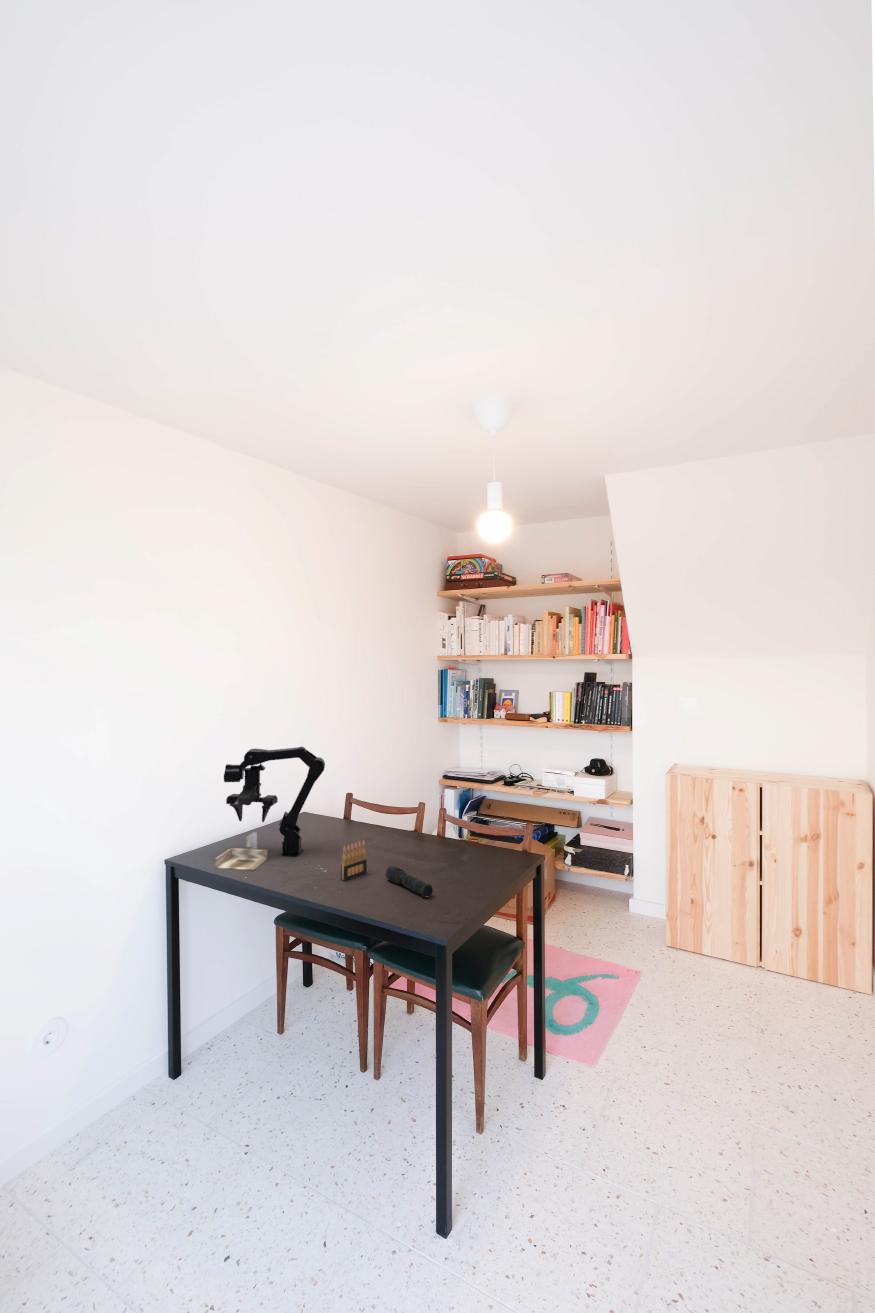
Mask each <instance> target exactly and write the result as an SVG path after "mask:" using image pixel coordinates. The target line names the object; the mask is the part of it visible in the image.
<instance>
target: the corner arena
mask: <svg viewBox="0 0 875 1313" xmlns="http://www.w3.org/2000/svg"><path fill="white" fill-rule="evenodd" d="M267 860H268V849H257V850H256V849H247V848H242V849H241V848H239V847H237V848H234V847H230V848H227V850H225V851H223V852H222V853H221V854H219V855H217V856H216V857H215V858H214V869H218V870H219V869H221V870H238V871H255V870H257V869H258V868H259V867H260V866H262V864H264V863H265V862H266V861H267Z"/></svg>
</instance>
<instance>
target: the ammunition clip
mask: <svg viewBox="0 0 875 1313" xmlns="http://www.w3.org/2000/svg"><path fill="white" fill-rule="evenodd" d="M366 854H367V851H366V842H365V840H364V839H363V840H362V842H361V841H360V840H359V842H358V843H357V842H355V844H354V843H351V845H350V844H347V847H346V845H343V850H342V858H341V859H342V860H341V865H340V881H342V882H346V880H347V881H350V880H352V879H355V878H358V877H361V876H362V875H363V876H364V875H366V874H367V872H368V871H367V867H368V866H367V865H368V864H367V858H366V856H367V855H366ZM360 875H361V876H360ZM357 876H358V877H357ZM354 877H355V878H354ZM351 878H352V879H351Z"/></svg>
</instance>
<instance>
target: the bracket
mask: <svg viewBox="0 0 875 1313" xmlns="http://www.w3.org/2000/svg"><path fill="white" fill-rule="evenodd" d="M240 849H243V848H240ZM246 849H256V850H258V831H253V832H252V833H250V834H248V835H247V836H246Z"/></svg>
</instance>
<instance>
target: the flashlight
mask: <svg viewBox="0 0 875 1313" xmlns="http://www.w3.org/2000/svg"><path fill="white" fill-rule="evenodd" d="M385 877H386V879H387V880H388V881H390V882H392V883H394V884H397V885H403V887H405V888H408V889H409V890H411V891H413V892H415V893H418V894H419V895H421V896H422V897H423V898H426V897H425V896H430V897H431V896H432V894H433V892H434V891H433V890H434V889H433V886H432V885H431V884H430V883H426V882H424V881H423V880H420V879H419V878H416V877H414V876H412V875H411V874H408V873H406V872H405V871H404V870H403V869H401V868H399V867H398V866H395V865H390V866H388V867H387V869H386V871H385Z"/></svg>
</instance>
